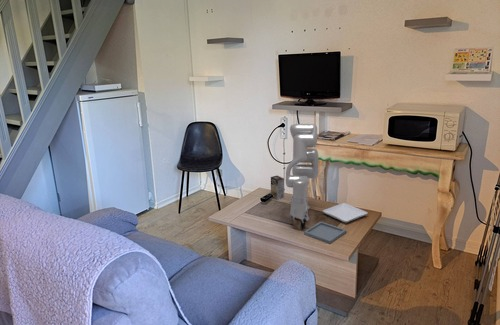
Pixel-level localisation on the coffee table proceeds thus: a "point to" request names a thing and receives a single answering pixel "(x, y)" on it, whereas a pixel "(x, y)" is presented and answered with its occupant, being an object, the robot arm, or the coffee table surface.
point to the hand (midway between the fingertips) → (299, 226)
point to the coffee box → (277, 187)
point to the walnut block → (297, 224)
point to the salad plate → (344, 212)
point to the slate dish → (325, 232)
